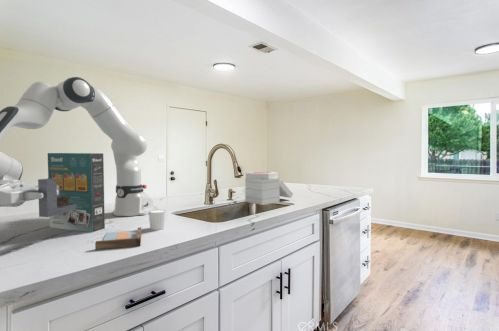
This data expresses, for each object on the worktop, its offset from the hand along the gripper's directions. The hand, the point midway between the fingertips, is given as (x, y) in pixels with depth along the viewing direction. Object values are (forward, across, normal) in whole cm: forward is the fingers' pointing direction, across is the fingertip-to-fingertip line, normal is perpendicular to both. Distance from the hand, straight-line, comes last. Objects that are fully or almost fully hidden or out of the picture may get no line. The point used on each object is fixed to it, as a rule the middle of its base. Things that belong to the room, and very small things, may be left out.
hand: (50, 194), depth 96 cm
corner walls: (+20, -7, -17) cm, 27 cm away
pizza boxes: (+64, -98, -17) cm, 119 cm away
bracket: (-1, -4, -7) cm, 8 cm away
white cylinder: (+25, -25, -17) cm, 39 cm away
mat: (+19, -9, -17) cm, 27 cm away
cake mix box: (-7, -21, -17) cm, 28 cm away
